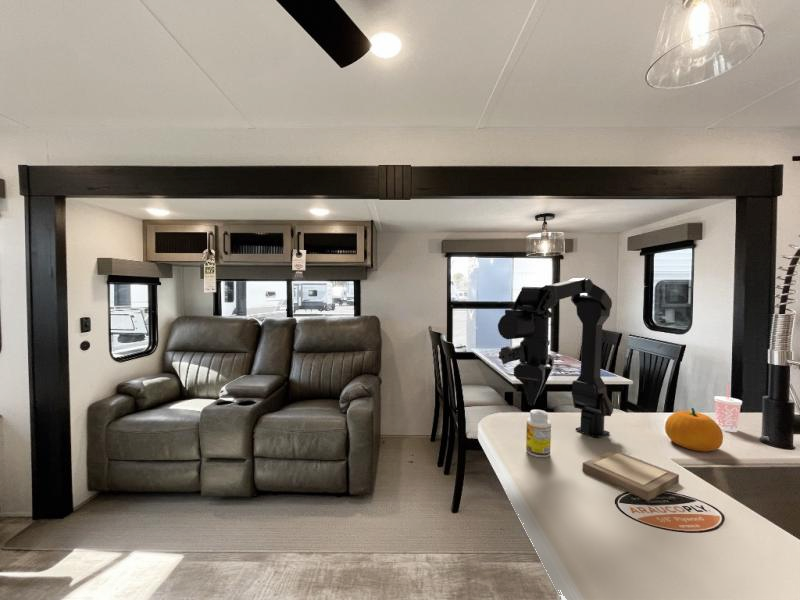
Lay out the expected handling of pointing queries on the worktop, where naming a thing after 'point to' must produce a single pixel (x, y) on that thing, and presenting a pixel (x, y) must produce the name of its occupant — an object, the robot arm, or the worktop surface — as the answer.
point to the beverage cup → (727, 412)
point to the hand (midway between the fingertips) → (534, 399)
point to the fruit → (694, 431)
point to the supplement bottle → (538, 434)
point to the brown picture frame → (631, 474)
